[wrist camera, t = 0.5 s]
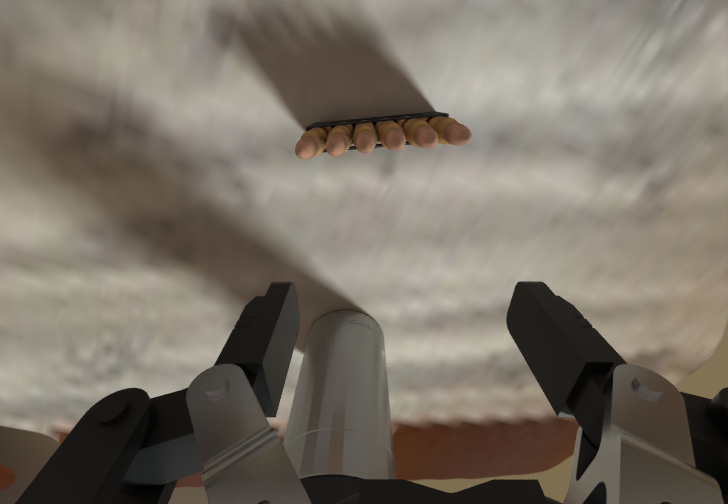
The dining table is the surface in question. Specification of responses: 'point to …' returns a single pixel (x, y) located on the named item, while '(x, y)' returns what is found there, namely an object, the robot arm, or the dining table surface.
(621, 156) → the dining table surface
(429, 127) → the ammunition clip
